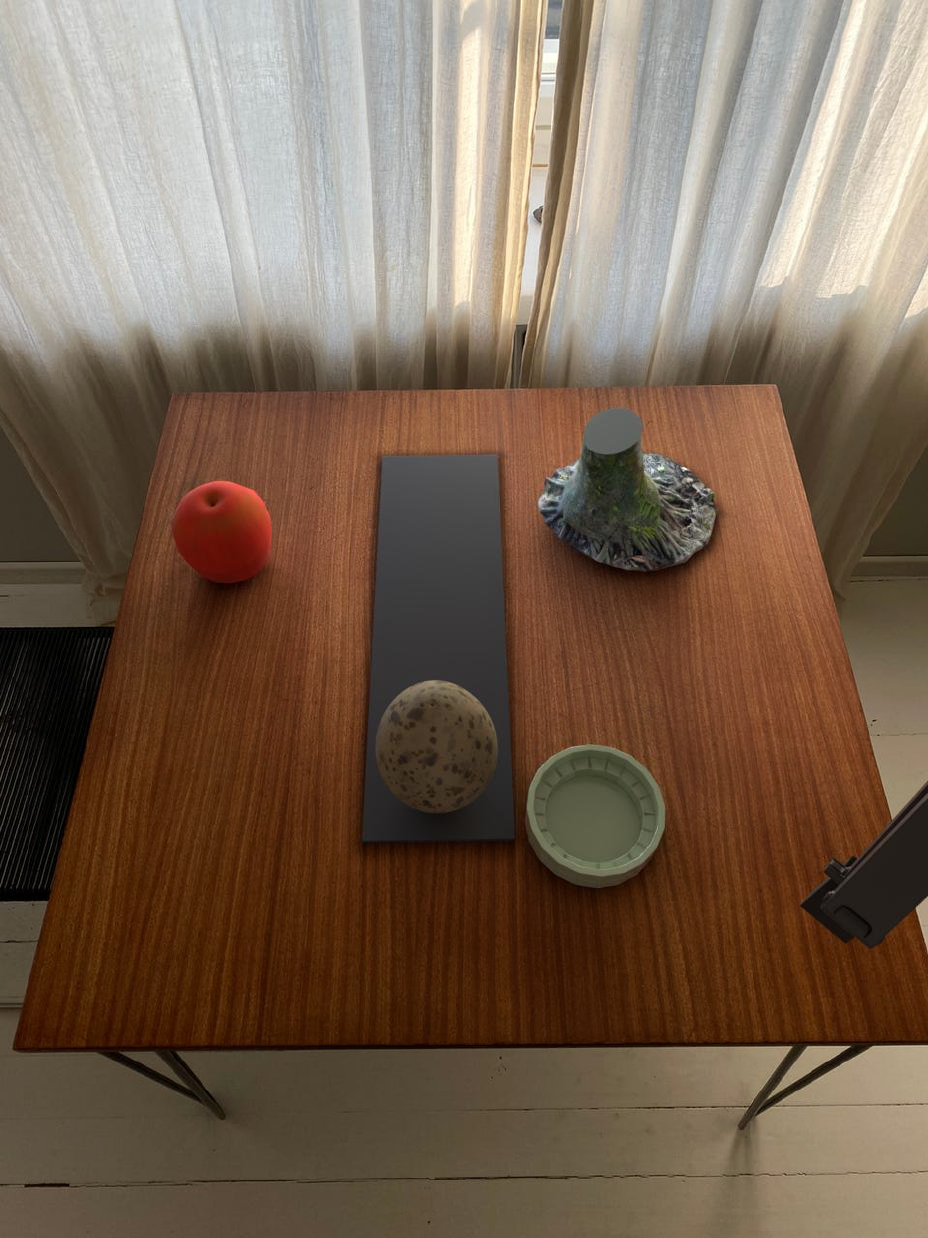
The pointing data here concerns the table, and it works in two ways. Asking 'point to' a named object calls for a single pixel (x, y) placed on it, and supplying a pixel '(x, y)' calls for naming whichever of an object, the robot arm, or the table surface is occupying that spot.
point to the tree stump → (627, 500)
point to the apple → (223, 531)
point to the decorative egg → (436, 747)
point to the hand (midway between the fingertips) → (894, 829)
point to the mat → (440, 629)
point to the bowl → (594, 815)
